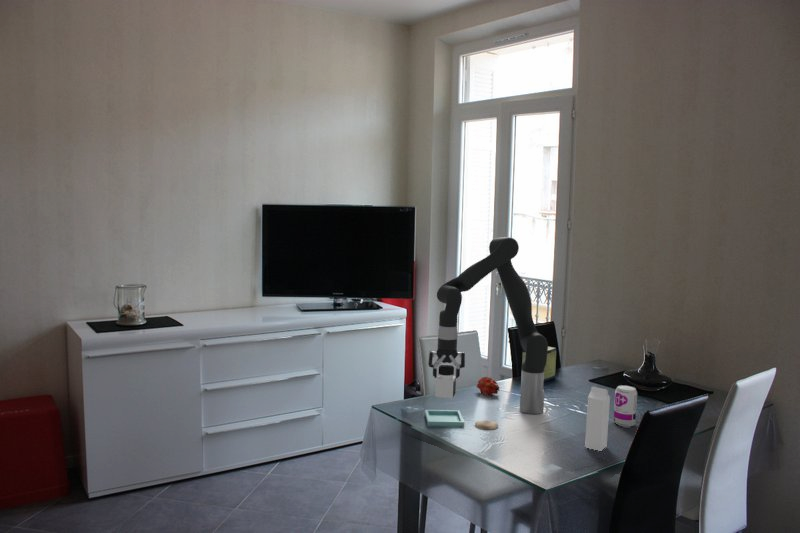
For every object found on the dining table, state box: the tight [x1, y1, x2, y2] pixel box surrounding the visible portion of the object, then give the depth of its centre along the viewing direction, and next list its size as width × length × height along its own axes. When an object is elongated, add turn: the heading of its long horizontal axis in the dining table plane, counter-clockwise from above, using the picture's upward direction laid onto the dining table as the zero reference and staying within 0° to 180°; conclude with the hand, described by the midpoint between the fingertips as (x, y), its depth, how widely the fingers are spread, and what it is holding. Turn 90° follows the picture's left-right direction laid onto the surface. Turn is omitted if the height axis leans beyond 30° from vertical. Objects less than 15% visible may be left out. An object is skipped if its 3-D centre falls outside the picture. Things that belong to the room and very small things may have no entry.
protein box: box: [521, 345, 557, 383], centre depth 326 cm, size 10×16×16 cm
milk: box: [584, 386, 611, 452], centre depth 237 cm, size 6×6×22 cm
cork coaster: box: [474, 420, 499, 431], centre depth 257 cm, size 9×9×1 cm
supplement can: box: [613, 384, 638, 427], centre depth 263 cm, size 8×8×15 cm
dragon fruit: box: [476, 376, 500, 397], centre depth 298 cm, size 8×8×12 cm
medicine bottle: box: [434, 363, 457, 399], centre depth 260 cm, size 7×7×12 cm
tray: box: [424, 409, 465, 428], centre depth 262 cm, size 14×14×2 cm
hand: (445, 377), depth 260 cm, fingers closed on medicine bottle, 8 cm apart
